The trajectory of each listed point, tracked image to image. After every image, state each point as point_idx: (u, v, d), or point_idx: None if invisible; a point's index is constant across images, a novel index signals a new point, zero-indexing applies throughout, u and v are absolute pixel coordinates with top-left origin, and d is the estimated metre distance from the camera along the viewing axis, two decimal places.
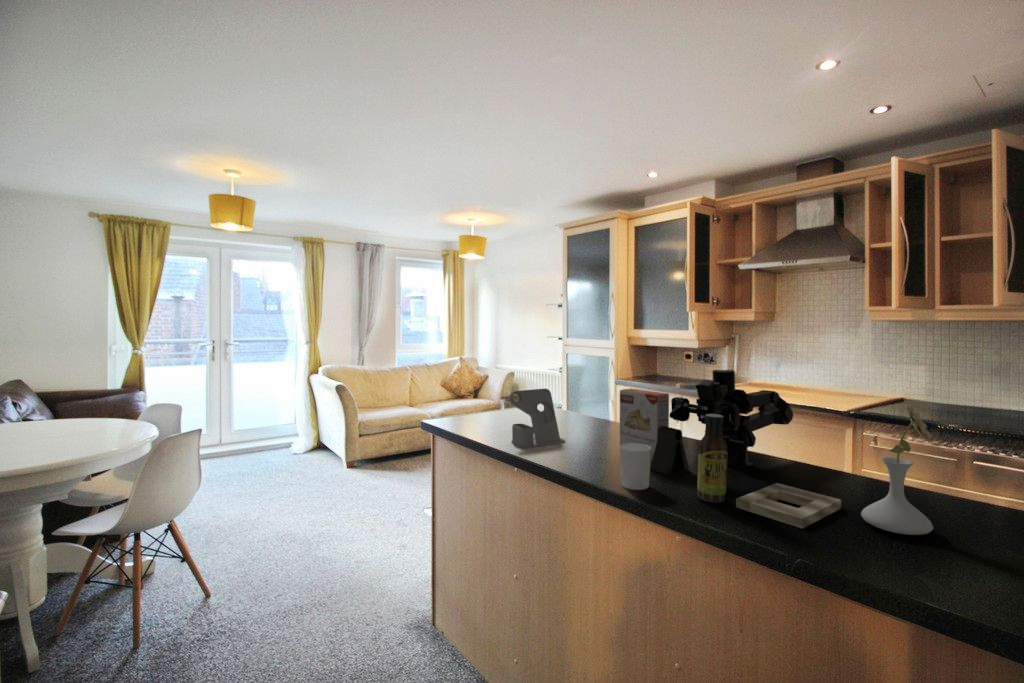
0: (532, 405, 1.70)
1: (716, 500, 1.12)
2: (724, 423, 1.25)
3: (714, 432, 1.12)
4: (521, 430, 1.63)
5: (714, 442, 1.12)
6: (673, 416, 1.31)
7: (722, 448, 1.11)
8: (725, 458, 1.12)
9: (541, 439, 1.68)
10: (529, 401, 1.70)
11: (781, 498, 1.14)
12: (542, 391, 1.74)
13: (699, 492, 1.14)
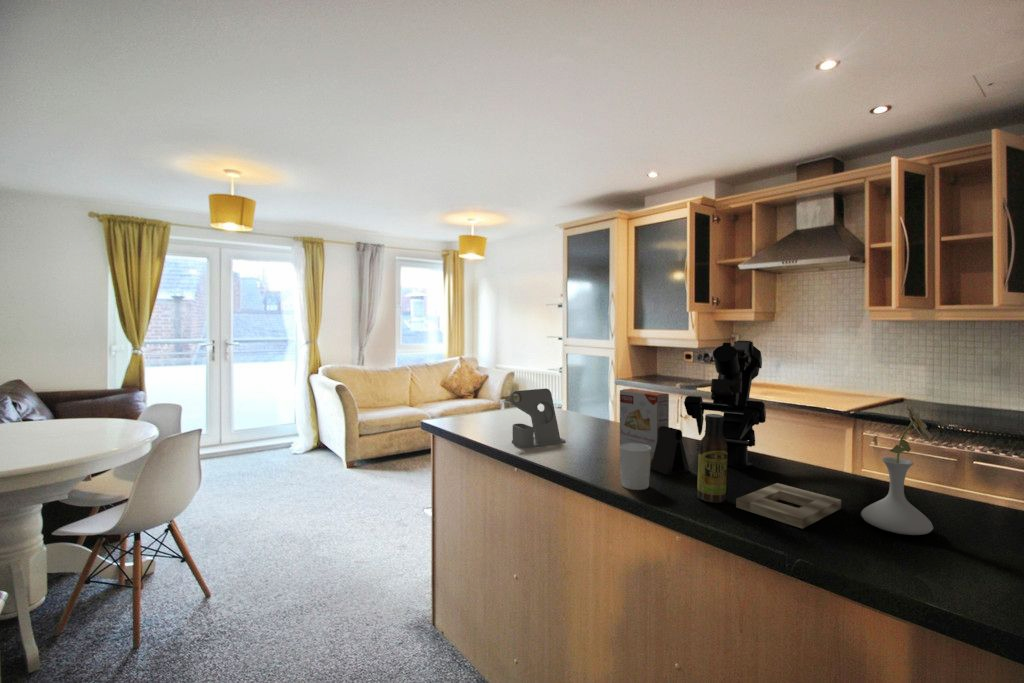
0: (532, 405, 1.71)
1: (716, 500, 1.12)
2: (753, 421, 1.21)
3: (714, 432, 1.12)
4: (521, 430, 1.63)
5: (714, 442, 1.12)
6: (701, 431, 1.24)
7: (722, 448, 1.11)
8: (725, 458, 1.12)
9: (541, 439, 1.68)
10: (529, 401, 1.70)
11: (781, 498, 1.14)
12: (542, 391, 1.74)
13: (699, 492, 1.14)
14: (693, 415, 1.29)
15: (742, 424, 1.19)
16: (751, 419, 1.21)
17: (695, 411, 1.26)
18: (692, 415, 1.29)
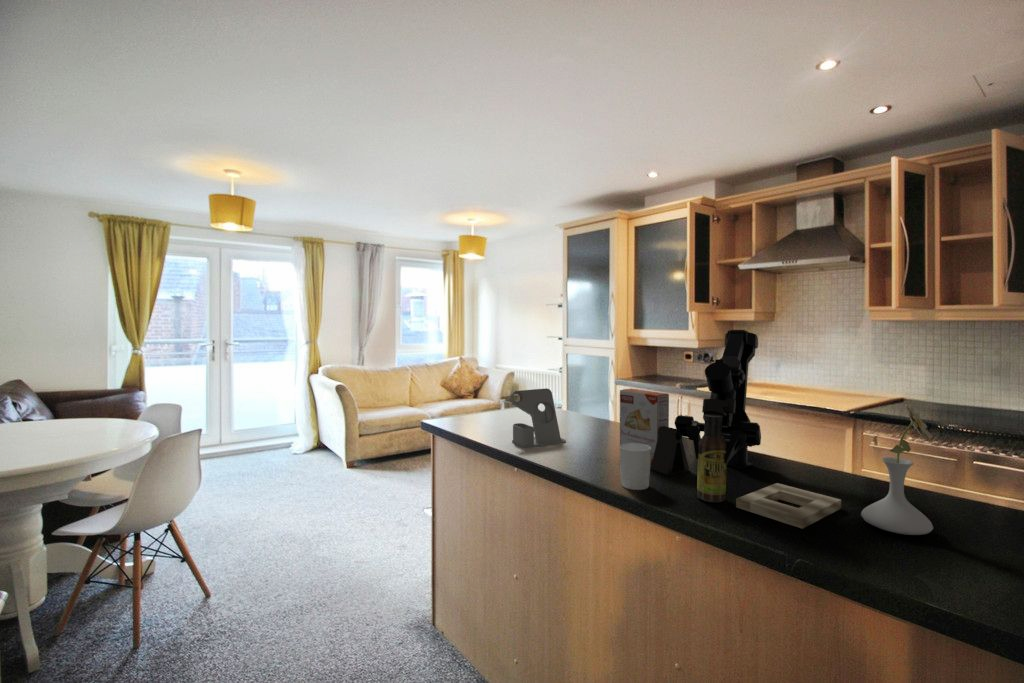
0: (532, 404, 1.71)
1: (716, 500, 1.12)
2: (741, 443, 1.15)
3: (714, 432, 1.12)
4: (521, 430, 1.63)
5: (713, 442, 1.12)
6: None
7: (721, 447, 1.11)
8: (724, 458, 1.12)
9: (542, 439, 1.68)
10: (530, 401, 1.71)
11: (781, 498, 1.14)
12: (543, 390, 1.74)
13: (699, 492, 1.14)
14: (690, 437, 1.21)
15: (729, 446, 1.12)
16: (739, 441, 1.14)
17: (692, 433, 1.18)
18: (689, 437, 1.21)
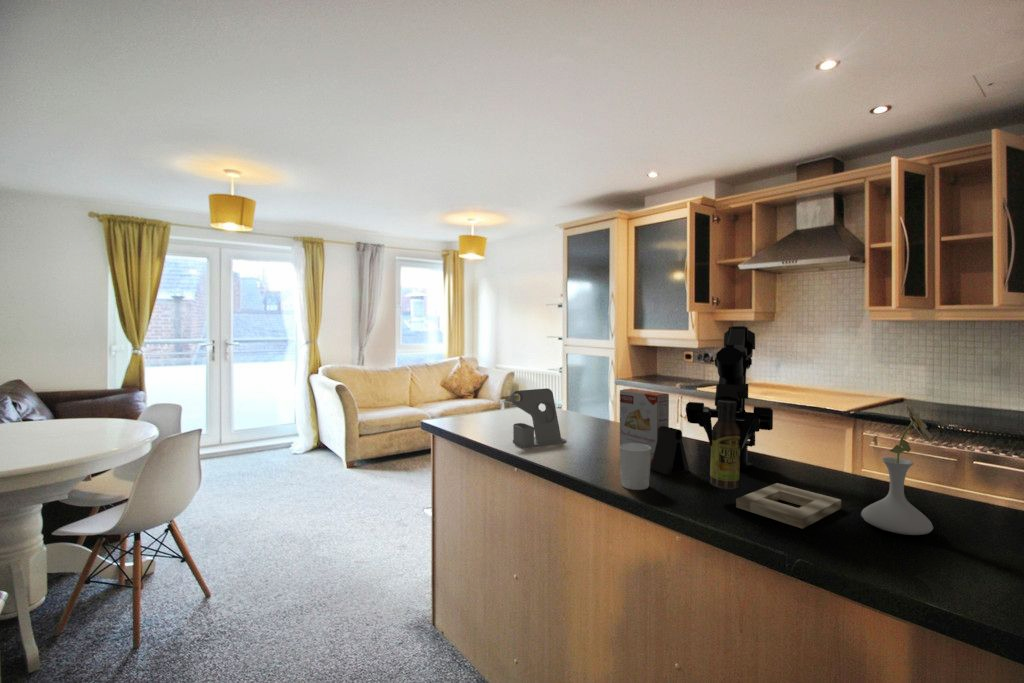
0: (533, 404, 1.71)
1: (731, 486, 1.10)
2: (754, 428, 1.14)
3: (728, 418, 1.11)
4: (521, 430, 1.64)
5: (728, 428, 1.10)
6: None
7: (736, 433, 1.10)
8: (739, 443, 1.11)
9: (542, 439, 1.68)
10: (530, 401, 1.71)
11: (781, 498, 1.14)
12: (544, 390, 1.75)
13: (713, 479, 1.13)
14: (701, 423, 1.19)
15: (743, 432, 1.11)
16: (751, 426, 1.13)
17: (704, 419, 1.16)
18: (700, 423, 1.19)
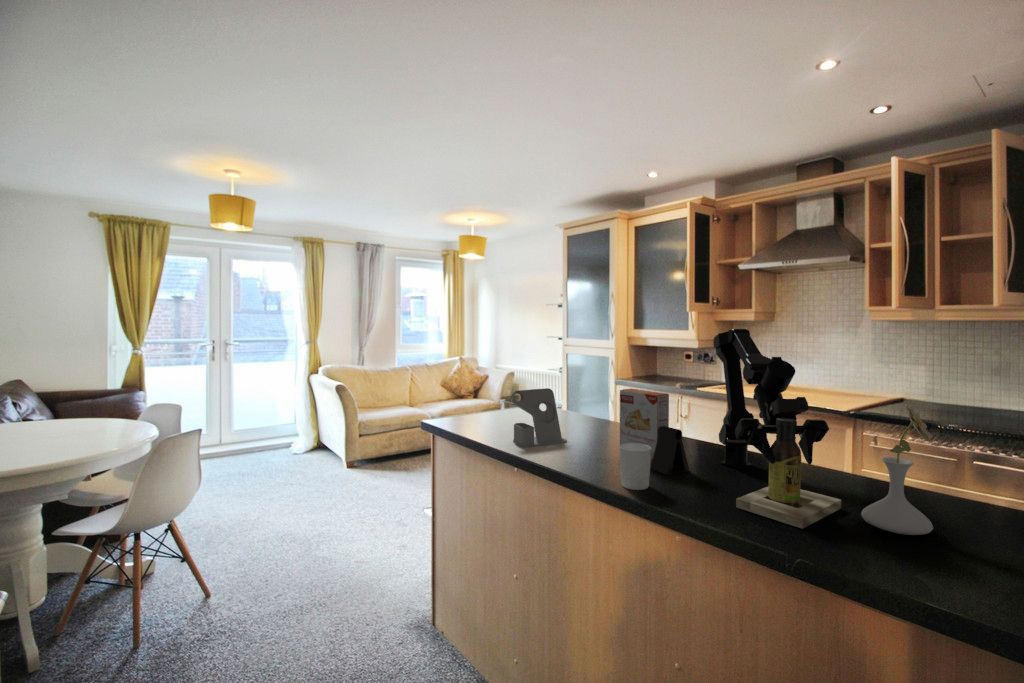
0: (533, 404, 1.71)
1: None
2: None
3: (792, 437, 1.07)
4: (522, 430, 1.64)
5: (793, 447, 1.07)
6: None
7: (800, 452, 1.07)
8: None
9: (542, 438, 1.68)
10: (531, 401, 1.71)
11: None
12: (545, 390, 1.75)
13: None
14: (750, 440, 1.14)
15: (809, 447, 1.09)
16: None
17: (761, 436, 1.11)
18: (749, 440, 1.14)
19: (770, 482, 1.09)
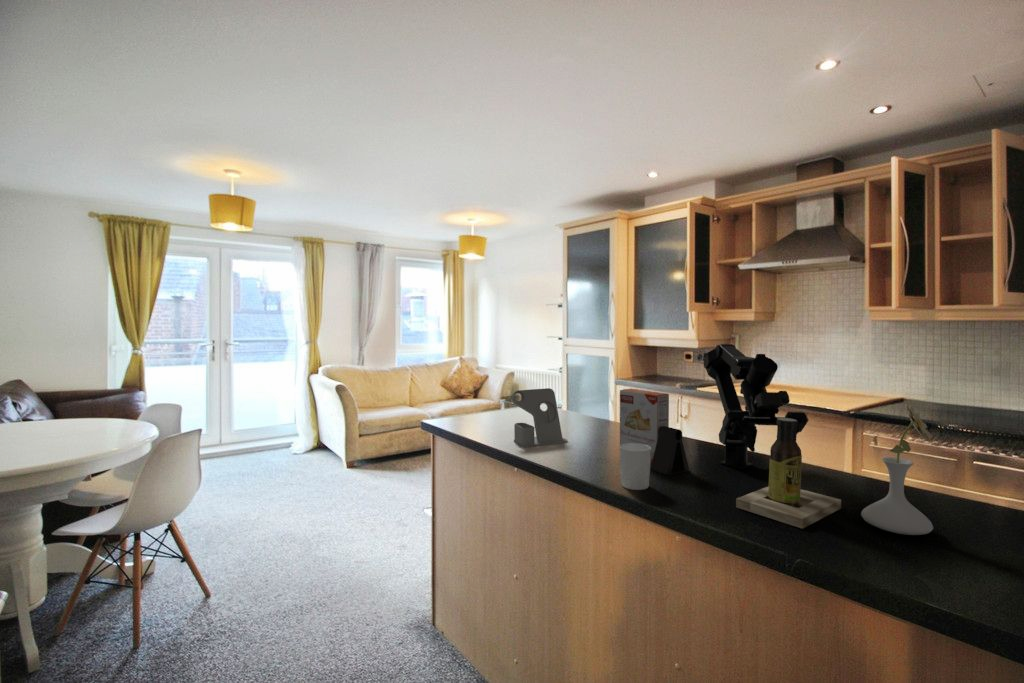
0: (534, 404, 1.71)
1: None
2: None
3: (792, 437, 1.07)
4: (522, 429, 1.64)
5: (793, 447, 1.07)
6: None
7: (800, 452, 1.07)
8: None
9: (543, 438, 1.69)
10: (531, 400, 1.71)
11: None
12: (545, 390, 1.75)
13: None
14: (733, 431, 1.23)
15: None
16: None
17: (742, 427, 1.20)
18: (732, 431, 1.23)
19: (770, 482, 1.09)
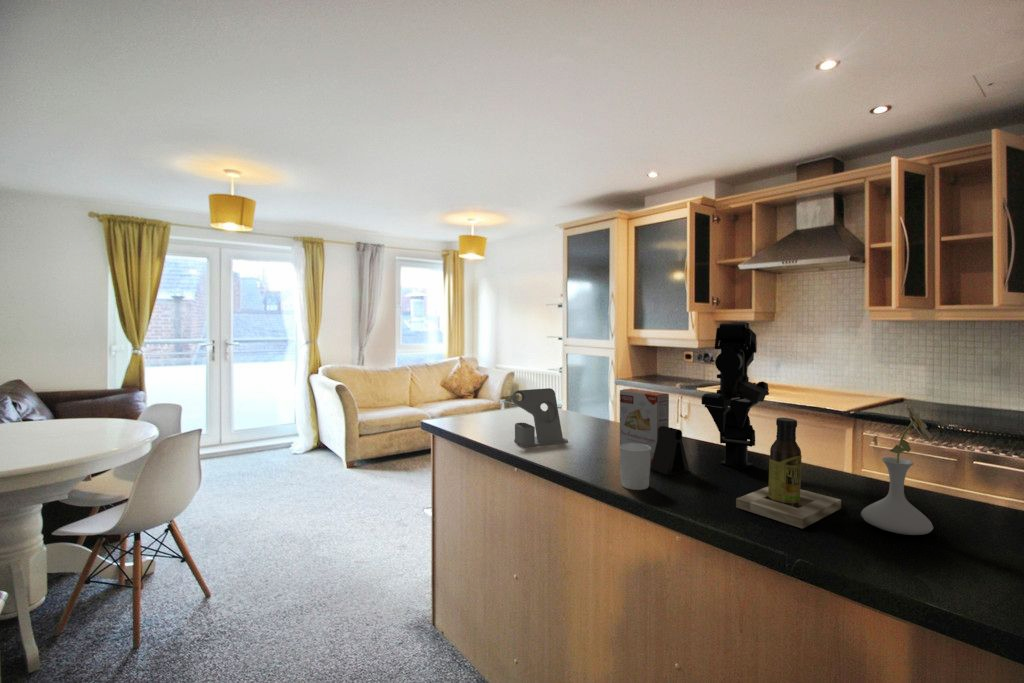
0: (534, 404, 1.72)
1: None
2: None
3: (792, 437, 1.07)
4: (522, 429, 1.65)
5: (793, 447, 1.07)
6: None
7: (800, 452, 1.07)
8: None
9: (543, 438, 1.69)
10: (532, 400, 1.72)
11: None
12: (546, 390, 1.75)
13: None
14: (710, 407, 1.26)
15: (746, 415, 1.31)
16: None
17: (724, 412, 1.24)
18: None
19: (770, 482, 1.09)
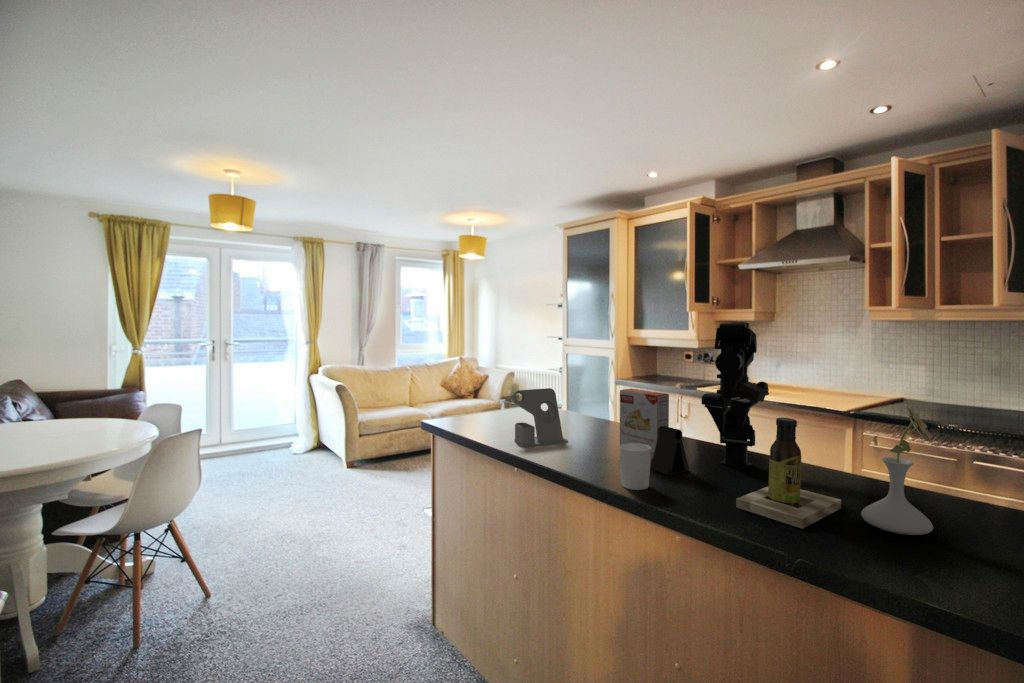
0: (535, 404, 1.72)
1: None
2: None
3: (792, 437, 1.07)
4: (522, 429, 1.65)
5: (793, 447, 1.07)
6: None
7: (800, 452, 1.07)
8: None
9: (543, 438, 1.69)
10: (532, 400, 1.72)
11: None
12: (546, 390, 1.75)
13: None
14: (710, 407, 1.26)
15: (746, 415, 1.31)
16: None
17: (724, 412, 1.24)
18: None
19: (770, 482, 1.09)
